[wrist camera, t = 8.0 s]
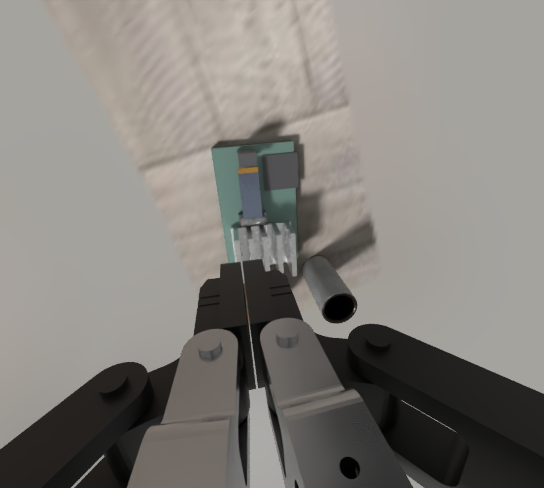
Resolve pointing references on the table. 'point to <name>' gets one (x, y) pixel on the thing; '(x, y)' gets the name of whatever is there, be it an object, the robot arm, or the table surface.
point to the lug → (247, 157)
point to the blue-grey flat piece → (250, 197)
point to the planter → (329, 290)
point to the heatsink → (266, 244)
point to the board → (272, 178)
